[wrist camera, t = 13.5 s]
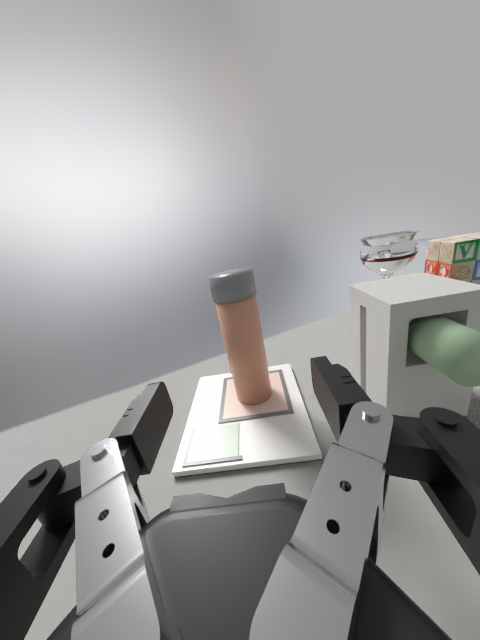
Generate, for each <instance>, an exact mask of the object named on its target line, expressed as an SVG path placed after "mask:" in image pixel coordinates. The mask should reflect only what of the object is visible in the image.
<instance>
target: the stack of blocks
mask: <svg viewBox="0 0 480 640" xmlns="http://www.w3.org/2000/svg"><path fill="white" fill-rule="evenodd" d="M424 273H427V274H432V275H437V276H441V277H446V278H451V279H456V280H460V281H465V282H470V283H474V284H479V285H480V232H478V233H472V234H464V235H458V236H452V237H446V238H440V239H434V240H429V241H428V247H427V259H426V262H425V272H424Z"/></svg>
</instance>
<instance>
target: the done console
mask: <svg viewBox="0 0 480 640" xmlns="http://www.w3.org/2000/svg"><path fill="white" fill-rule="evenodd" d="M349 305H350V306H349V307H350V308H349V310H350V352H351V375H352V377H354V379H355V380H356V382H357V383H358V384H359V385H360V386H361V388H362V389H363V390H364V391H365V392H366V394H367V395H368V397H369V398H370V399H371V400H372V402H375V403H378V404H380V405H382V406H384V407H386V408H387V409H388V410H389V411H390V412H391V413H392V414H394V415H398V416H407V417H417V418H419V415H420V412H421V411H422V410H423V409H425V408H429V407H440V408H445V409H449V410H452V411H454V412H457V413H459V414H460V415H462V416H467V415H468V410H469V405H470V400H471V395H472V390H473V387H465V386H461V385H459V384H457V383H456V382H454V381H453V380H451V379H450V378H448V377H447V376H445V375H444V374H443V373H441V372H440V371H438V370H437V369H435V368H434V367H433V366H431V365H430V364H428V363H427V362H425V361H424V360H423V359H421V358H420V357H418V356H417V355H415V354H414V353H412V352H411V351H410V350H408V349H407V342H408V329H409V322H411V321H412V320H413V319H414V318H420V317H426V316H432V315H440V316H443V317H445V318H447V319H450V320H452V321H455V322H457V323H460V324H462V325H464V326H467V327H469V328H472V329H474V330H477V331H479V332H480V285H479V284H474V283H470V282H465V281H460V280H456V279H451V278H446V277H441V276H437V275H432V274H427V273H422V272H418V273H413V274H407V275H402V276H396V277H391V278H385V279H379V280H374V281H369V282H363V283H357V284H352V285H349Z"/></svg>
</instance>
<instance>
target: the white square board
mask: <svg viewBox="0 0 480 640" xmlns="http://www.w3.org/2000/svg"><path fill="white" fill-rule="evenodd" d="M268 371H269V377H270V383H271V389H272V394H271V396H270V398H269V399H268V400H267V401H265V402H264V403H262V404H259V405H254V406H249V405H245V404H242V403H241V402H239V400H238V399H237V394H236V390H235V386H234V382H233V377H232V373H226V374H220V375H213V376H207V377H200V381H199V384H198V387H197V391H196V394H195V397H194V401H193V404H192V407H191V411H190V414H189V417H188V421H187V424H186V428H185V431H184V434H183V438H182V441H181V444H180V448H179V451H178V454H177V458H176V461H175V464H174V468H173V471H172V473H173V476H174V477H178V476H186V475H195V474H203V473H211V472H219V471H227V470H235V469H244V468H252V467H260V466H268V465H276V464H284V463H293V462H301V461H309V460H317V459H322V453H321V450H320V447H319V445H318V442H317V439H316V436H315V433H314V431H313V428H312V425H311V422H310V419H309V417H308V414H307V411H306V408H305V406H304V403H303V400H302V397H301V394H300V392H299V389H298V386H297V383H296V381H295V378H294V375H293V372H292V369H291V367H290V364H284V365H277V366H271V367H268Z"/></svg>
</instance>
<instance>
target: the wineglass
mask: <svg viewBox="0 0 480 640" xmlns="http://www.w3.org/2000/svg"><path fill="white" fill-rule="evenodd" d="M418 232H419V231H415V230H414V231H400V232H392V233H385V234H379V235H374V236H369V237H365V238H362V239H361V241H362V243H363V247H362V249H361V252H360V258H361V261H362V263H363V264H364V265H365V266H366V267H367V268H368V269H370V270H371V271H374V272H376V273H379V274H380V275H381V276H382V277H383V279H385V278H390V276H392V275H393V273H394V272H396V271H398V270H401V269H403V268H404V267H405V266H407V265H408V264H409V263H410V262H411V261H412V260H413V259H414V258H415V256H416V254H417V252H418V251H417V250H418V243H417V242H416V240H415V237H416V235H417V233H418Z"/></svg>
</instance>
